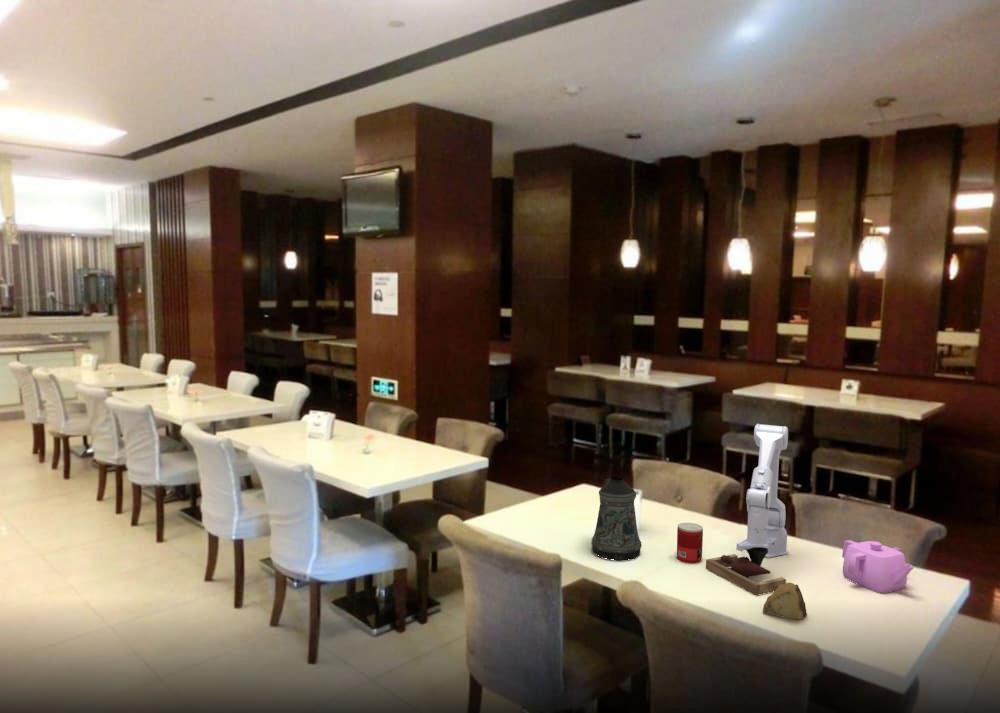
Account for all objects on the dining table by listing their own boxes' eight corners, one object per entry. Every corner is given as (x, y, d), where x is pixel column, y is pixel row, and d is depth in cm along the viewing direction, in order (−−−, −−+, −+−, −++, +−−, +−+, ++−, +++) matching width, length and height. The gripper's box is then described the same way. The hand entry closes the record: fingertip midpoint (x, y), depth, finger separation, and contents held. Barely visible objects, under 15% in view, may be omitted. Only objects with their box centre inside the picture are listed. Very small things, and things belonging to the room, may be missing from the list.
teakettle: (839, 567, 215) (841, 530, 214) (900, 575, 209) (902, 537, 208) (846, 589, 199) (848, 548, 198) (912, 598, 193) (915, 557, 192)
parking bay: (733, 563, 218) (734, 554, 217) (785, 588, 199) (786, 579, 198) (705, 568, 213) (706, 559, 213) (755, 595, 194) (756, 585, 194)
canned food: (702, 564, 216) (704, 531, 215) (677, 562, 218) (678, 529, 217) (700, 555, 224) (701, 523, 223) (675, 553, 226) (676, 521, 225)
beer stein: (620, 565, 215) (621, 489, 213) (574, 548, 230) (576, 476, 227) (651, 553, 226) (653, 479, 224) (606, 537, 240) (607, 468, 238)
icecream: (774, 559, 204) (725, 552, 214) (767, 560, 199) (716, 553, 208) (773, 583, 203) (724, 574, 212) (766, 585, 198) (715, 576, 207)
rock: (754, 607, 182) (790, 615, 175) (760, 576, 186) (797, 582, 178) (771, 621, 188) (807, 629, 180) (777, 591, 191) (812, 597, 184)
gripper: (749, 534, 200) (747, 579, 201) (785, 528, 206) (783, 571, 207) (732, 527, 206) (730, 570, 207) (767, 520, 212) (765, 562, 213)
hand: (755, 570), depth 207 cm, fingers closed
